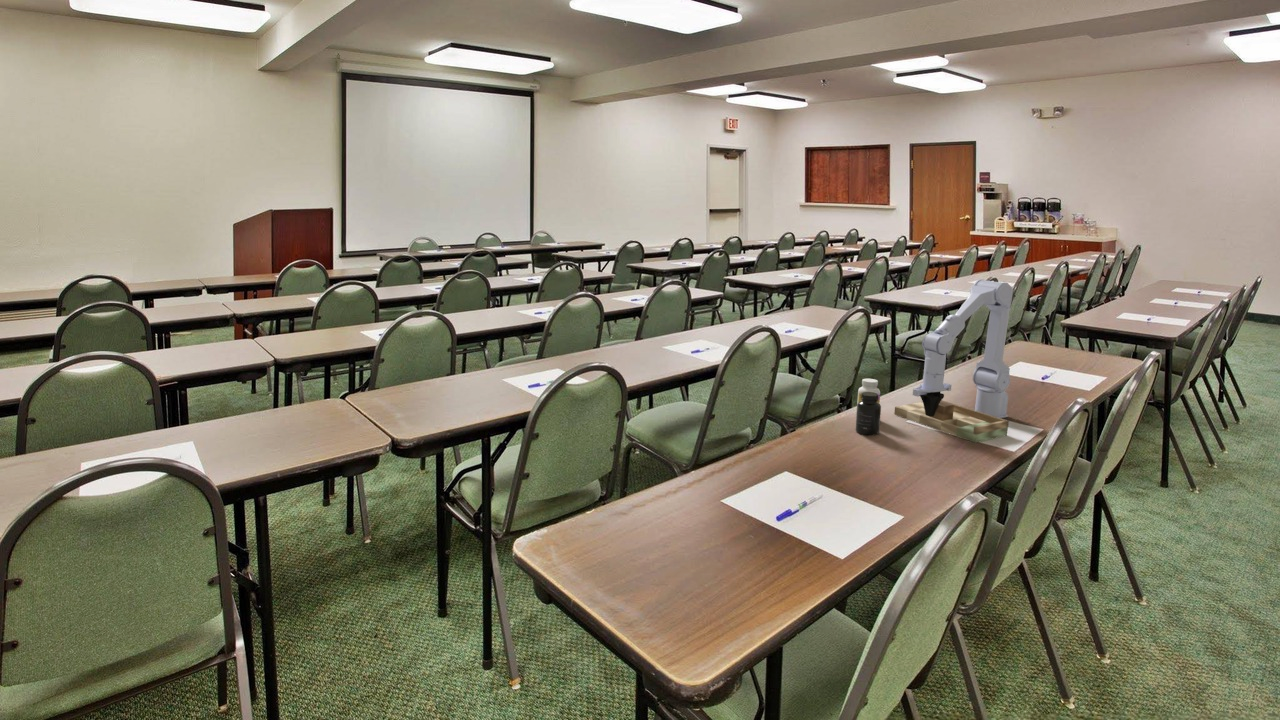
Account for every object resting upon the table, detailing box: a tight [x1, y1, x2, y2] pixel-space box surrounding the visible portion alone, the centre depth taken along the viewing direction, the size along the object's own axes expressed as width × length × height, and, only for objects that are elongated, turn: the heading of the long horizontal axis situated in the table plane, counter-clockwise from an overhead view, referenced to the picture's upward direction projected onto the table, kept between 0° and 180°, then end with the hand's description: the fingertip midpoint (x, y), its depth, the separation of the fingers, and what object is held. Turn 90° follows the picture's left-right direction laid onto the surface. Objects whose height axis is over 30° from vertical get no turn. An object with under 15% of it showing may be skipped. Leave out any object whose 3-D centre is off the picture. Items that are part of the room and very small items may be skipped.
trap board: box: [893, 399, 1010, 444], centre depth 219 cm, size 14×30×4 cm, turn 28°
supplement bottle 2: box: [855, 392, 882, 436], centre depth 211 cm, size 7×7×12 cm
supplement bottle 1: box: [856, 378, 881, 414], centre depth 222 cm, size 7×7×13 cm
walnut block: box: [932, 400, 954, 421], centre depth 217 cm, size 4×4×4 cm
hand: (929, 415), depth 217 cm, fingers closed
